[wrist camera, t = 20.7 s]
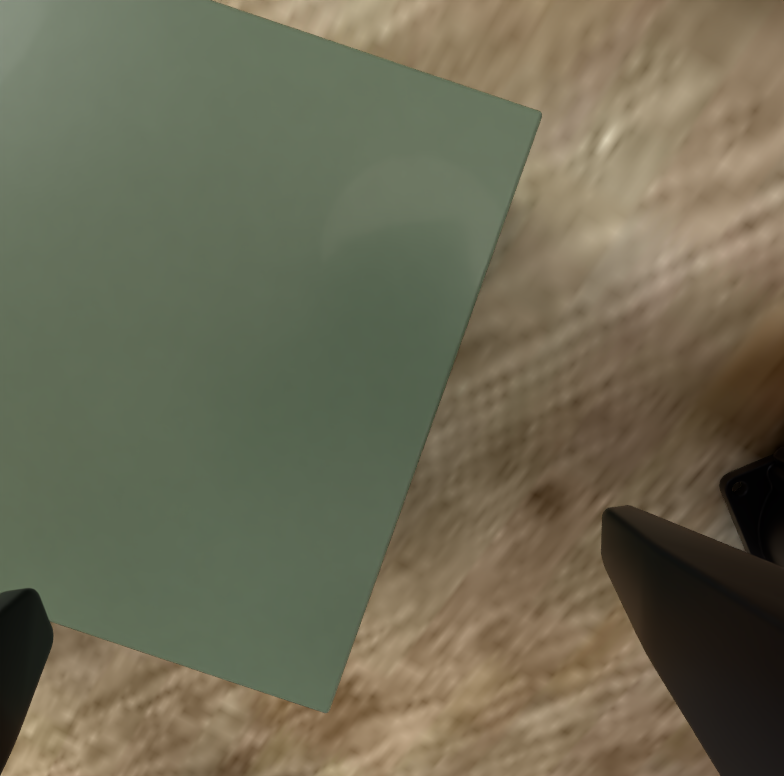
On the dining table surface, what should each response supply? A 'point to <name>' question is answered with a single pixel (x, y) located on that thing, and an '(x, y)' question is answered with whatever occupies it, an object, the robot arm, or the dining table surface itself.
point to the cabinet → (226, 321)
